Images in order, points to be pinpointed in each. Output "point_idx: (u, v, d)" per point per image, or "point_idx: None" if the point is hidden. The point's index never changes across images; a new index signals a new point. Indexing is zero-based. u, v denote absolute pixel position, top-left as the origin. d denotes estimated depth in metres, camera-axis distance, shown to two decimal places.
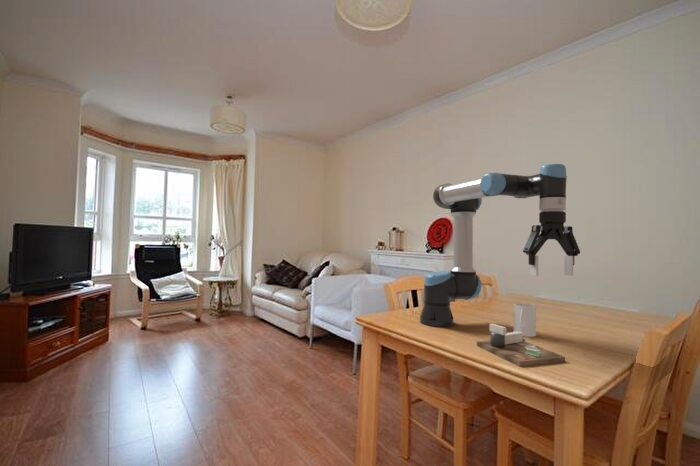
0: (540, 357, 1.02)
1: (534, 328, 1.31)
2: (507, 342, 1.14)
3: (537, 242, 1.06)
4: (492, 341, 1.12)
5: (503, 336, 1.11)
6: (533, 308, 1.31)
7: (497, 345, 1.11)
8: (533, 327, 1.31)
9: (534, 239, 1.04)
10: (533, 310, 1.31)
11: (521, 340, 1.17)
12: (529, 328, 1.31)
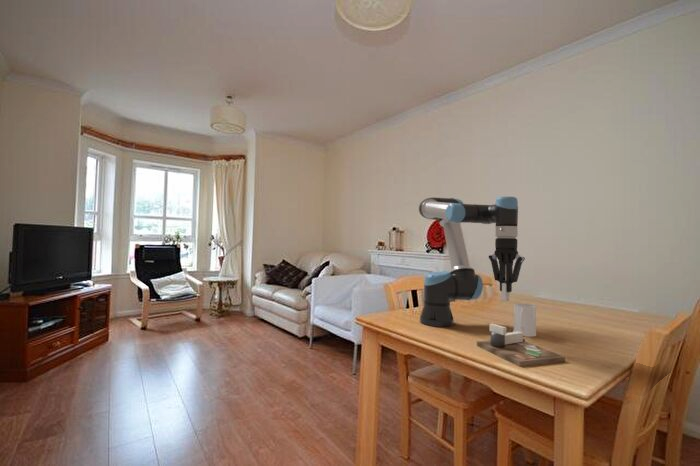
0: (540, 357, 1.02)
1: (534, 328, 1.31)
2: (507, 342, 1.14)
3: None
4: (492, 341, 1.12)
5: (503, 336, 1.11)
6: (533, 308, 1.31)
7: (497, 345, 1.11)
8: (533, 327, 1.31)
9: (493, 268, 1.24)
10: (533, 310, 1.31)
11: (521, 340, 1.17)
12: (529, 328, 1.31)
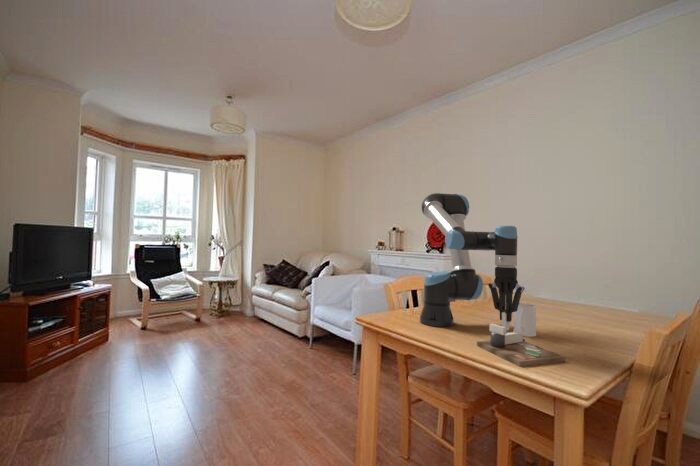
0: (540, 357, 1.02)
1: (534, 328, 1.31)
2: (507, 342, 1.14)
3: None
4: (492, 341, 1.12)
5: (503, 336, 1.11)
6: (533, 308, 1.31)
7: (497, 345, 1.11)
8: (533, 327, 1.31)
9: (493, 296, 1.24)
10: (533, 310, 1.31)
11: (521, 340, 1.17)
12: (529, 328, 1.31)
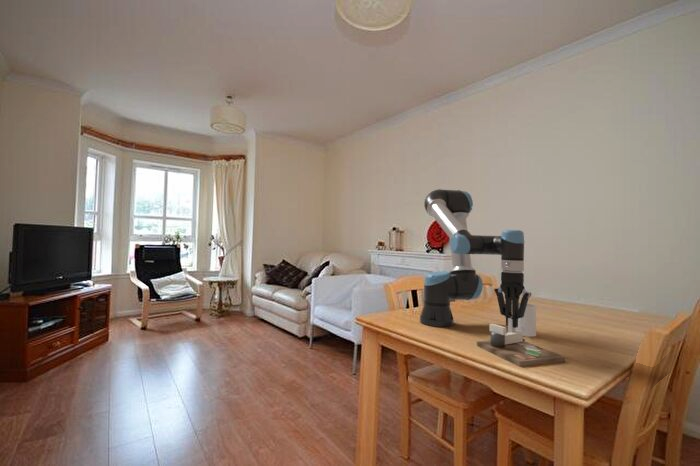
0: (540, 357, 1.02)
1: (534, 328, 1.31)
2: (507, 342, 1.14)
3: None
4: (492, 341, 1.12)
5: (503, 336, 1.11)
6: (533, 308, 1.31)
7: (497, 345, 1.11)
8: (533, 327, 1.31)
9: (499, 301, 1.22)
10: (533, 310, 1.31)
11: (521, 340, 1.17)
12: (529, 328, 1.31)
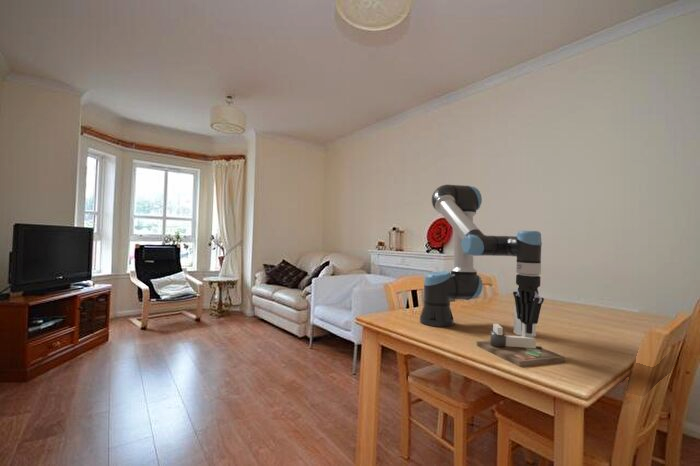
0: (540, 357, 1.02)
1: (534, 328, 1.31)
2: (510, 344, 1.11)
3: None
4: (490, 340, 1.14)
5: (499, 336, 1.11)
6: None
7: (493, 344, 1.12)
8: (533, 327, 1.31)
9: (516, 305, 1.17)
10: None
11: (533, 346, 1.10)
12: None
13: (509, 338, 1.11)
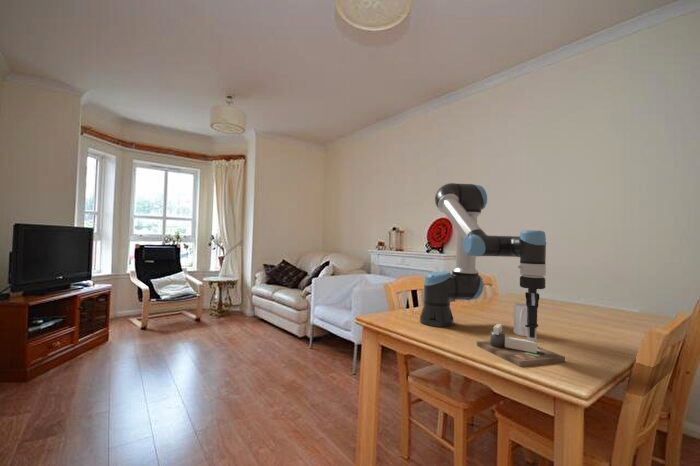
0: (540, 357, 1.02)
1: None
2: (509, 346, 1.10)
3: None
4: None
5: (496, 336, 1.11)
6: None
7: (491, 343, 1.13)
8: None
9: (527, 308, 1.13)
10: None
11: (534, 351, 1.05)
12: None
13: (508, 339, 1.10)
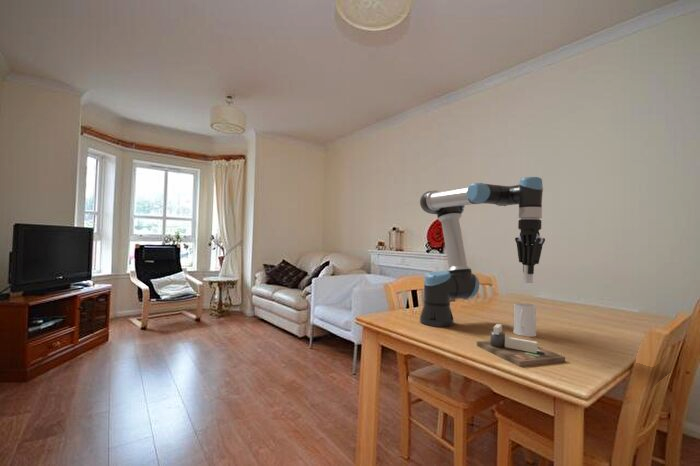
0: (540, 357, 1.02)
1: (534, 328, 1.31)
2: (509, 346, 1.10)
3: None
4: None
5: (496, 336, 1.11)
6: (533, 308, 1.31)
7: (491, 343, 1.13)
8: (533, 327, 1.31)
9: (518, 250, 1.24)
10: (533, 310, 1.31)
11: (534, 351, 1.05)
12: (529, 328, 1.31)
13: (508, 339, 1.10)
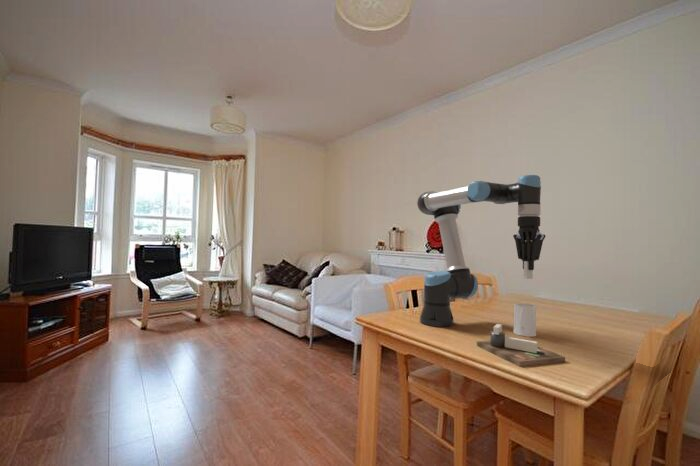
0: (540, 357, 1.02)
1: (534, 328, 1.31)
2: (509, 346, 1.10)
3: None
4: None
5: (496, 336, 1.11)
6: (533, 308, 1.31)
7: (491, 343, 1.13)
8: (533, 327, 1.31)
9: (517, 246, 1.26)
10: (533, 310, 1.31)
11: (534, 351, 1.05)
12: (529, 328, 1.31)
13: (508, 339, 1.10)
